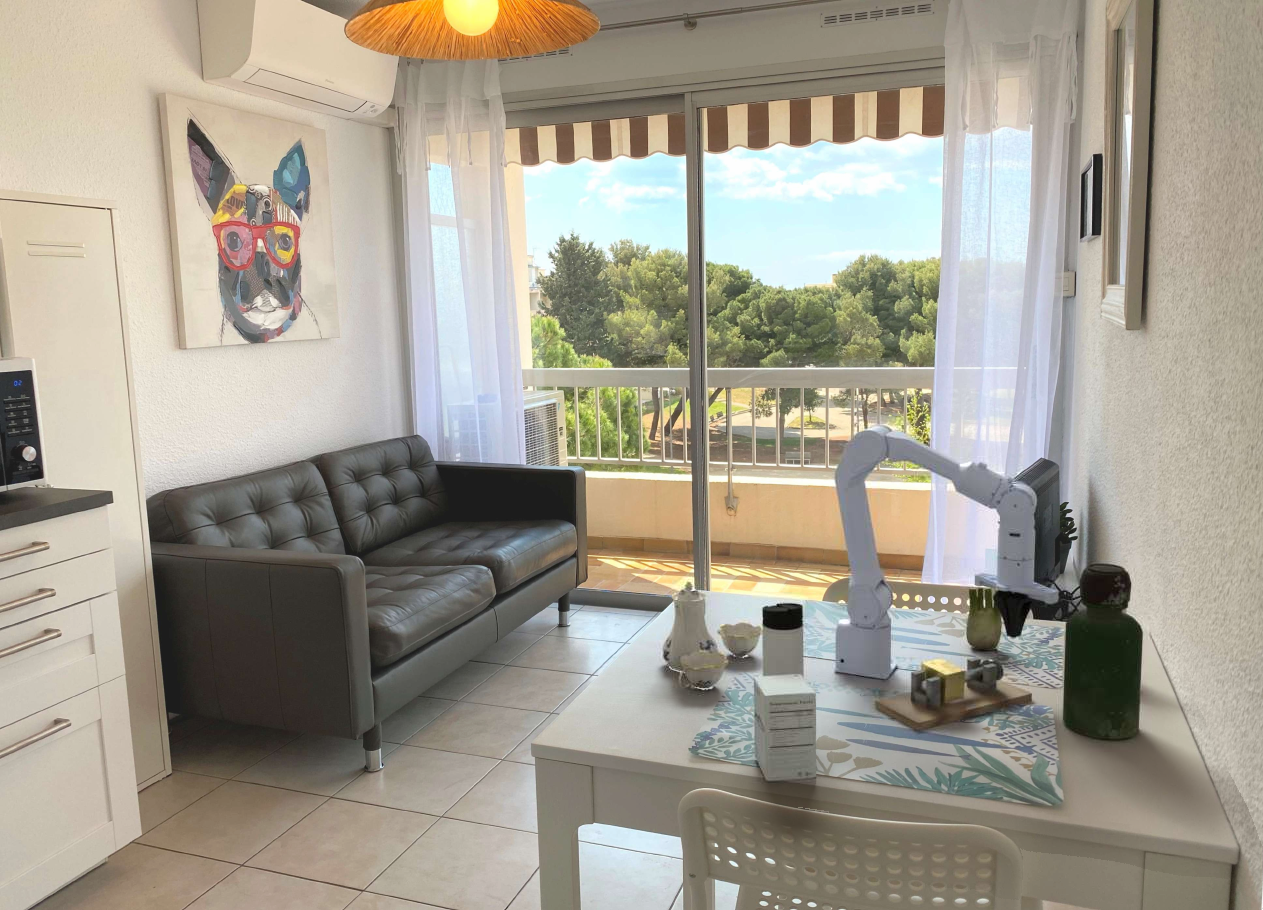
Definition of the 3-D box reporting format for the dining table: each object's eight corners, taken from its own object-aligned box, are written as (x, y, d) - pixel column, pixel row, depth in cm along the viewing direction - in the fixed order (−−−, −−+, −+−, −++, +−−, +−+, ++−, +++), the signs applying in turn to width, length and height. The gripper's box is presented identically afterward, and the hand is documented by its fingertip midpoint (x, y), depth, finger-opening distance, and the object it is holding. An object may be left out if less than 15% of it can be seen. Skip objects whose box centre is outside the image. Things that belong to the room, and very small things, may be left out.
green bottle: (1049, 725, 147) (1053, 567, 143) (1084, 707, 153) (1090, 555, 149) (1116, 748, 138) (1123, 580, 135) (1151, 728, 144) (1158, 568, 141)
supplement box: (753, 758, 139) (752, 675, 137) (803, 755, 139) (803, 672, 137) (764, 782, 131) (763, 695, 130) (817, 778, 132) (817, 691, 130)
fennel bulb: (1003, 648, 181) (1004, 586, 180) (993, 655, 178) (994, 592, 176) (973, 642, 185) (974, 582, 183) (962, 649, 181) (963, 587, 180)
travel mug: (780, 739, 145) (779, 612, 142) (755, 724, 150) (753, 601, 148) (813, 730, 147) (812, 605, 145) (787, 715, 153) (786, 595, 150)
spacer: (944, 702, 151) (946, 674, 150) (920, 689, 156) (921, 662, 155) (963, 698, 153) (965, 670, 152) (938, 685, 158) (940, 658, 157)
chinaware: (724, 711, 160) (732, 617, 157) (632, 689, 166) (639, 598, 163) (766, 656, 186) (773, 574, 183) (685, 639, 192) (691, 559, 189)
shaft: (930, 701, 151) (931, 679, 151) (915, 693, 154) (915, 672, 154) (1003, 683, 158) (1003, 662, 157) (986, 676, 161) (987, 655, 160)
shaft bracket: (917, 730, 146) (918, 692, 145) (875, 707, 155) (875, 672, 154) (1031, 700, 156) (1032, 665, 155) (985, 680, 165) (986, 647, 164)
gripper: (963, 552, 162) (962, 629, 164) (1040, 569, 150) (1038, 652, 152) (990, 546, 166) (988, 621, 168) (1067, 561, 154) (1064, 642, 155)
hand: (1013, 635), depth 160 cm, fingers closed
